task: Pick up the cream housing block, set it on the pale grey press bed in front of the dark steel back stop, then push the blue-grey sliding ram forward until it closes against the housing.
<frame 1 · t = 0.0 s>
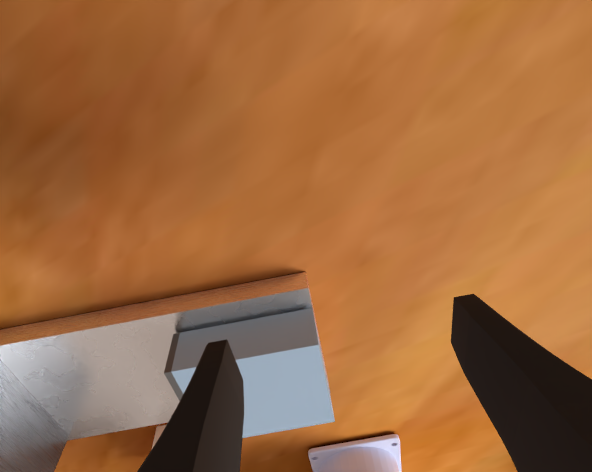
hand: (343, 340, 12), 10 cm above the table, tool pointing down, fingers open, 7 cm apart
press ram: (256, 378, 24), point 3 cm above the table, slide at 0.0 cm
press bed: (166, 357, 27), on the table
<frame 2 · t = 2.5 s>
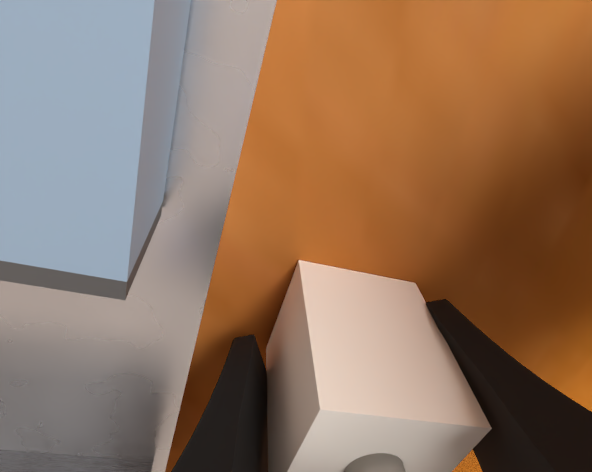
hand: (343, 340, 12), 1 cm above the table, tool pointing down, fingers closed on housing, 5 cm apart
housing: (337, 317, 13), on the table, touching gripper
press bed: (26, 221, 10), on the table
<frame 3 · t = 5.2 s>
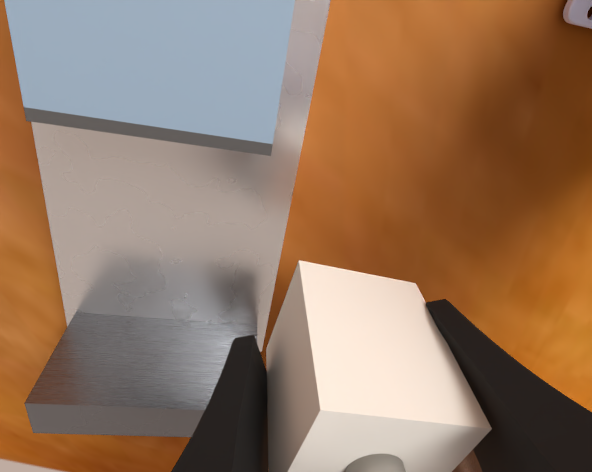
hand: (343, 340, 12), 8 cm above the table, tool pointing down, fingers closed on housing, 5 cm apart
housing: (337, 317, 13), point 7 cm above the table, touching gripper
plant pot: (506, 454, 34), on the table
press bed: (178, 151, 17), on the table
when the fingers open (3 cm above the table, at t = 7.7 s): housing stays where it is, resting on press bed.
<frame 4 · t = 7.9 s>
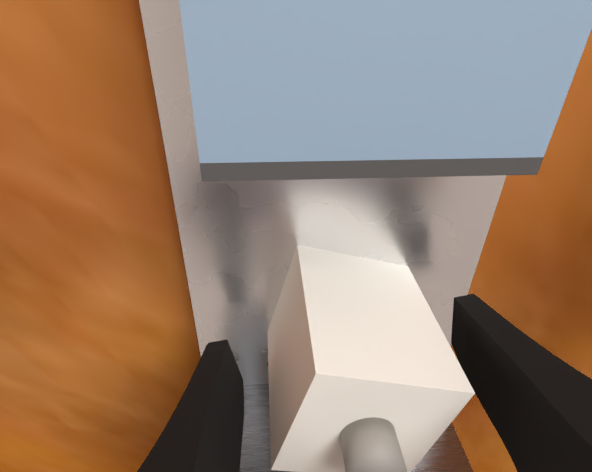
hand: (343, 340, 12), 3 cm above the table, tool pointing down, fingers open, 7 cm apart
housing: (334, 300, 14), point 1 cm above the table, touching press bed
press bed: (334, 180, 13), on the table
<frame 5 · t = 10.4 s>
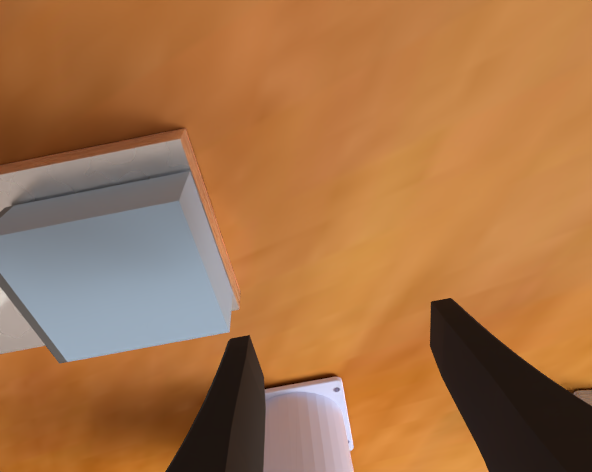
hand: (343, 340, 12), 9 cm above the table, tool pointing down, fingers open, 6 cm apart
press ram: (121, 272, 18), point 3 cm above the table, slide at 0.0 cm
press bed: (23, 258, 21), on the table
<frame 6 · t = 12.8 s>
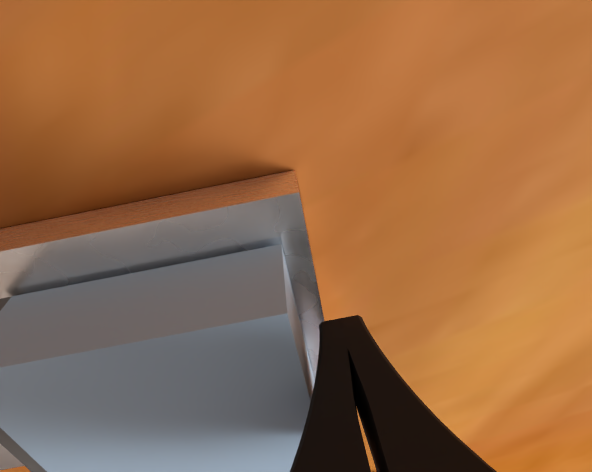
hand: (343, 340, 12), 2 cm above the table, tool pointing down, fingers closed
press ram: (172, 390, 12), point 3 cm above the table, slide at 0.8 cm, touching gripper
press bed: (46, 345, 15), on the table
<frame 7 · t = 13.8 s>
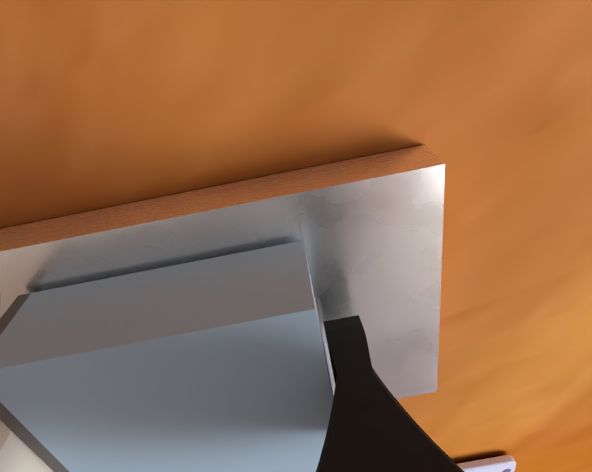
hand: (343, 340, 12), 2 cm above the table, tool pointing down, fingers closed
housing: (11, 382, 14), point 2 cm above the table, touching press bed, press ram
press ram: (192, 387, 12), point 3 cm above the table, slide at 4.1 cm, touching gripper, housing
press bed: (146, 326, 15), on the table
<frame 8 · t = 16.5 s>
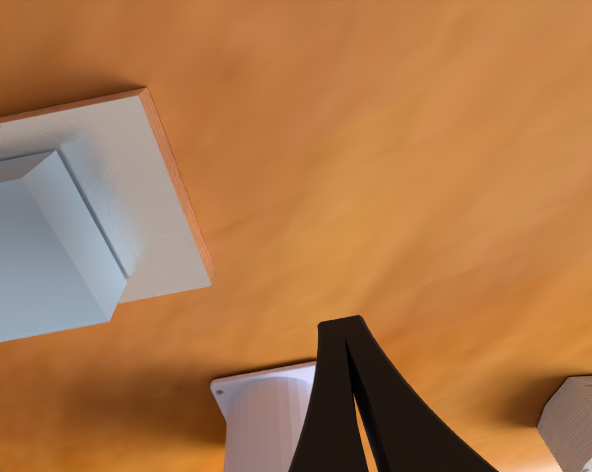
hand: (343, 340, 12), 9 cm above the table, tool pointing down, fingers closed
padlock: (564, 399, 33), on the table
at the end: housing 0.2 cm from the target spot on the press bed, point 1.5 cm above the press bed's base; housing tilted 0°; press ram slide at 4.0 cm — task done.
